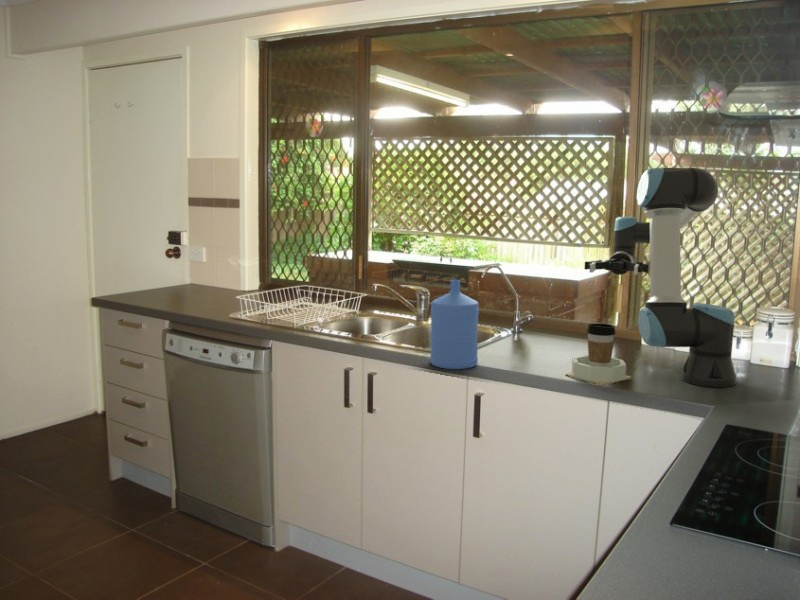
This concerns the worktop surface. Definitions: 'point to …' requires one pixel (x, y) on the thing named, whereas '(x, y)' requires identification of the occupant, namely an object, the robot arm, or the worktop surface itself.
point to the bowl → (598, 371)
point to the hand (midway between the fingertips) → (613, 269)
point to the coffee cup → (600, 344)
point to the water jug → (454, 330)
